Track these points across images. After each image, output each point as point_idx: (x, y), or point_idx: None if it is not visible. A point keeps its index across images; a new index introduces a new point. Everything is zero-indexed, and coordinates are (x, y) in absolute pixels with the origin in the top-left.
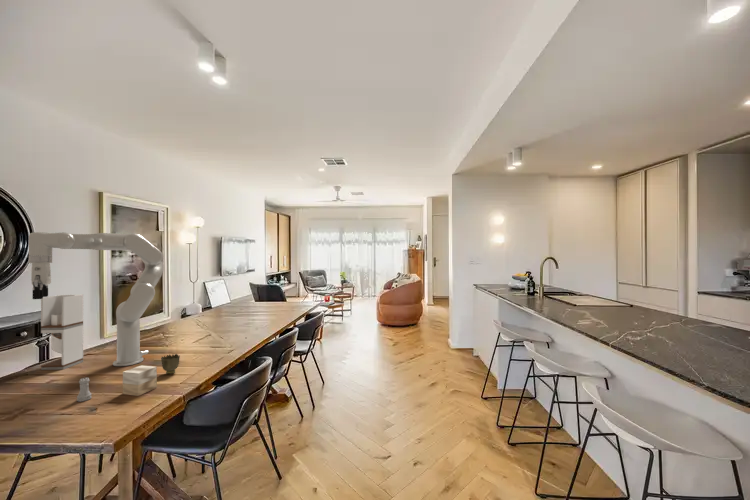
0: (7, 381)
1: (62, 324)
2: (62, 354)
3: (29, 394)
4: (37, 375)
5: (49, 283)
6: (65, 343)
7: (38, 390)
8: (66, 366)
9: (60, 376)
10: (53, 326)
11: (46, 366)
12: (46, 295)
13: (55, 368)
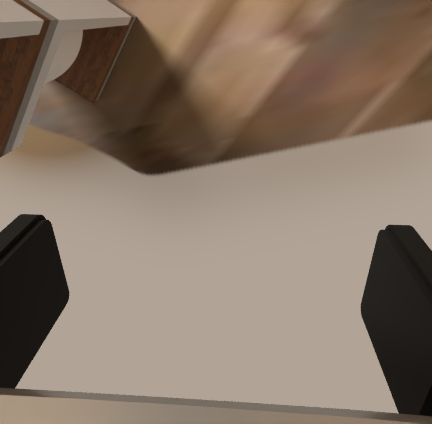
0: (198, 165)
1: (36, 28)
2: (114, 22)
3: (422, 69)
4: (176, 94)
5: (102, 405)
6: (84, 10)
7: (394, 50)
8: (121, 7)
9: (246, 8)
10: (21, 89)
11: (103, 82)
12: (43, 234)
13: (120, 48)
